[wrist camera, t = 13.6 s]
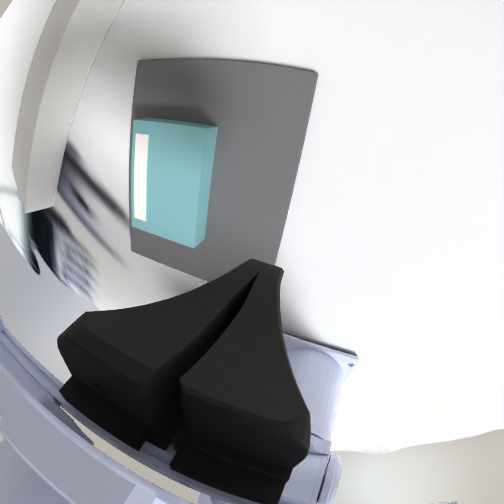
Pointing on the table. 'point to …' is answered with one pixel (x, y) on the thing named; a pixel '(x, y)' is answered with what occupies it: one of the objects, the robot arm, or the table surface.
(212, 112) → the mat
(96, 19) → the bevelled gray strip
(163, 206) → the card box
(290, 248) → the table surface
